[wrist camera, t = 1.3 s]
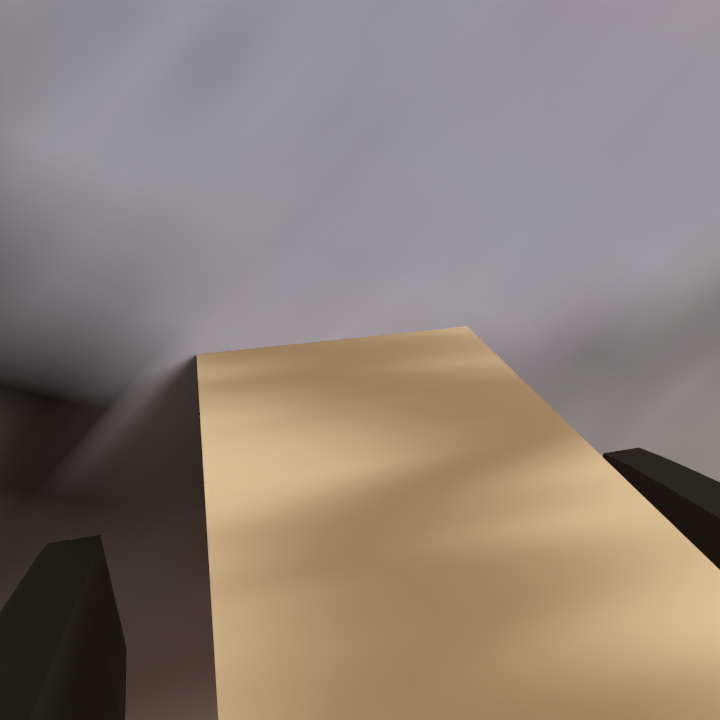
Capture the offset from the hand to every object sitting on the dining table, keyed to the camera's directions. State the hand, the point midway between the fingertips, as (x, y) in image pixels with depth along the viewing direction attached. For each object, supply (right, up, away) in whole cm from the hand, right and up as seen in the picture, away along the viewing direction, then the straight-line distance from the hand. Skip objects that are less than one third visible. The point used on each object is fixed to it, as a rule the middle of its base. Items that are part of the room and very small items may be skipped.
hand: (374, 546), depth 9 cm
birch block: (-1, +1, +2) cm, 2 cm away
